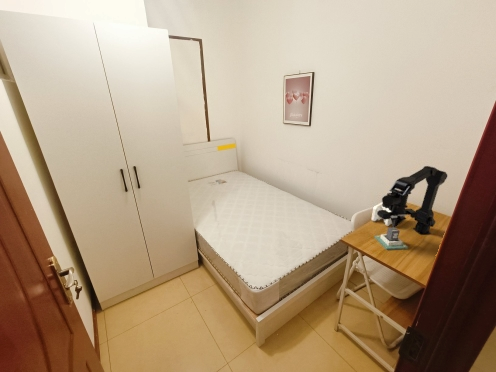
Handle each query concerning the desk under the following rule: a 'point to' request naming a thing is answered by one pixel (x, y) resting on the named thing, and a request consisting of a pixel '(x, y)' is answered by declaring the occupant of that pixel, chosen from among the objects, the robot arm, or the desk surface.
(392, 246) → the board
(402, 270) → the desk surface
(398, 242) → the socket
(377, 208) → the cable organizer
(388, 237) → the plug
